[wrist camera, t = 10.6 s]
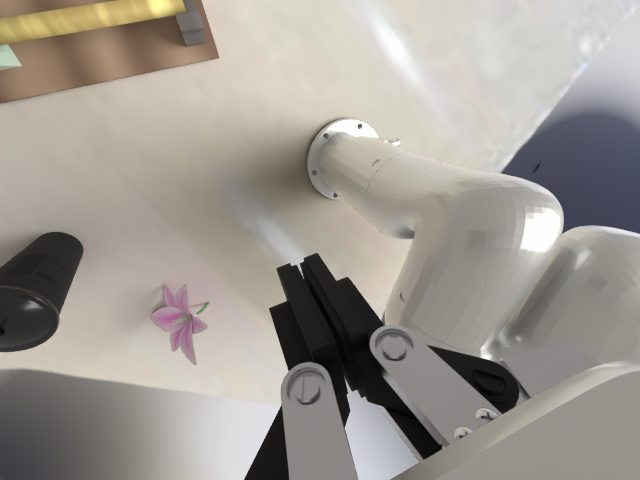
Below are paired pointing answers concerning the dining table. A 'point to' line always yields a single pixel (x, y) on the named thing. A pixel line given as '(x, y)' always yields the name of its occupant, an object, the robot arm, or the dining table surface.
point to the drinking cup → (36, 290)
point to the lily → (179, 321)
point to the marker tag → (8, 58)
